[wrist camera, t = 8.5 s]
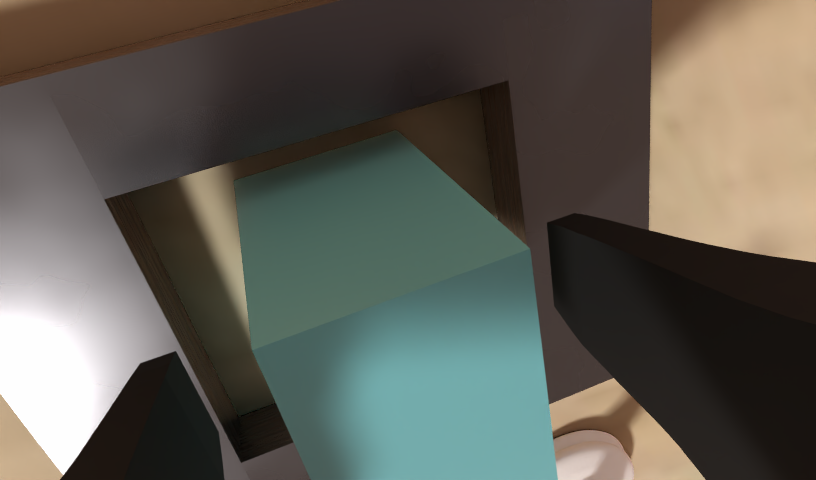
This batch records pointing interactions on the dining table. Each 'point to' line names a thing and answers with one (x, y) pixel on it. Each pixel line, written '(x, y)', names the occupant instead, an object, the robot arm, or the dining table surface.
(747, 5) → the dining table surface
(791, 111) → the dining table surface
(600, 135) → the port block
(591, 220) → the robot arm
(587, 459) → the chess piece
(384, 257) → the plug
